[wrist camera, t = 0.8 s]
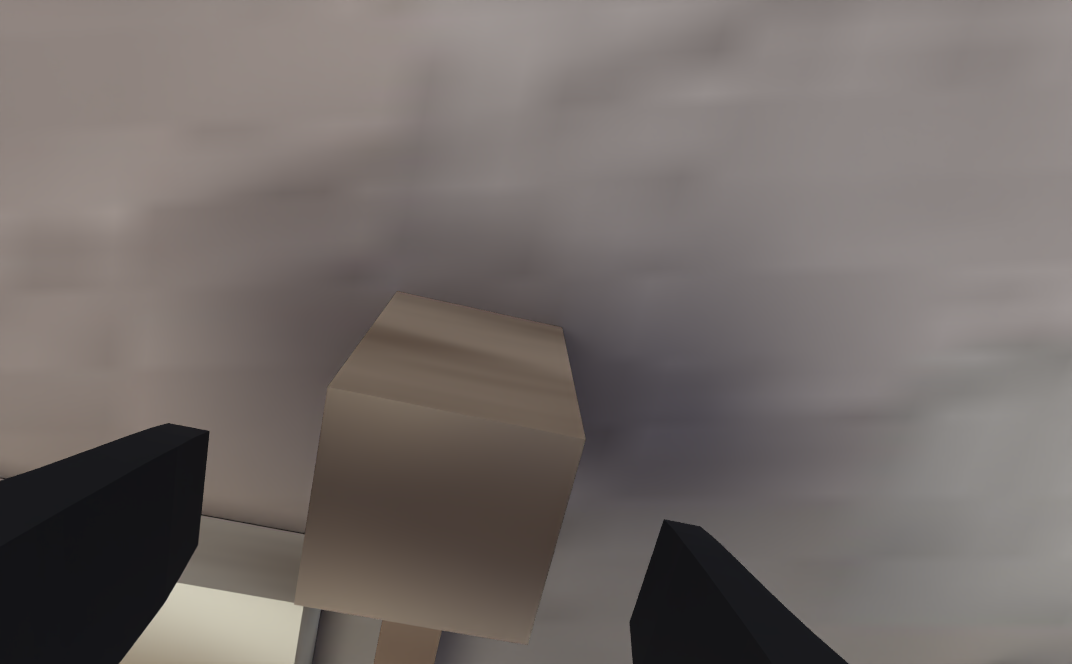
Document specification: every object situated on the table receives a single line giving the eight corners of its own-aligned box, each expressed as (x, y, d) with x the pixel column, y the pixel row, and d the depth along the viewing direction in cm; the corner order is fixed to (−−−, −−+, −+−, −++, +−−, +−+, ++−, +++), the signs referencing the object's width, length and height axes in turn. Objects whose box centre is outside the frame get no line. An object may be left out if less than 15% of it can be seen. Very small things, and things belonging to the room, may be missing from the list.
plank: (298, 740, 20) (267, 827, 17) (-215, 660, 18) (-326, 742, 16) (332, 539, 18) (303, 605, 15) (-240, 434, 16) (-373, 488, 14)
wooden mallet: (470, 684, 19) (449, 922, 14) (330, 661, 19) (249, 895, 13) (562, 327, 16) (586, 439, 10) (397, 291, 16) (327, 386, 10)
